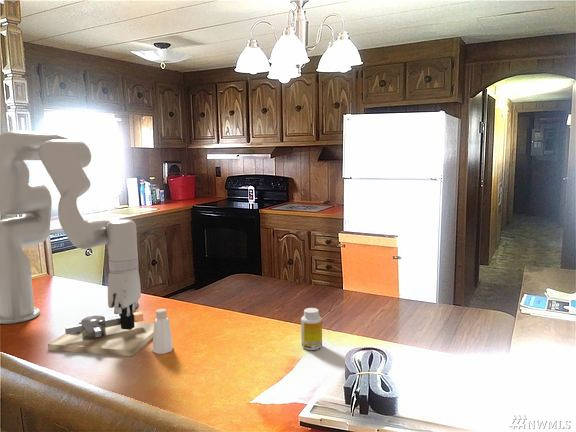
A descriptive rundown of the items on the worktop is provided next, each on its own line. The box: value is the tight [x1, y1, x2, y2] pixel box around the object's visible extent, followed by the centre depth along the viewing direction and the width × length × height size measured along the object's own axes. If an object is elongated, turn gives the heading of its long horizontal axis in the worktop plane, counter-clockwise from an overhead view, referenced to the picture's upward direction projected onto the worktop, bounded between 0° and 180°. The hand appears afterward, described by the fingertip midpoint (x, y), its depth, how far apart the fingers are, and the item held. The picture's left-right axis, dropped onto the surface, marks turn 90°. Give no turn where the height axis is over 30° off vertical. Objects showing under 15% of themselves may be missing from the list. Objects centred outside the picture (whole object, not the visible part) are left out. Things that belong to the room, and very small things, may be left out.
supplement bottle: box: [300, 307, 323, 351], centre depth 120 cm, size 6×6×10 cm
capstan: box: [64, 310, 144, 339], centre depth 125 cm, size 20×14×4 cm
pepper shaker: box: [152, 308, 174, 355], centre depth 118 cm, size 5×5×11 cm
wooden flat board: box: [47, 321, 154, 357], centre depth 125 cm, size 24×18×3 cm
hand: (127, 328), depth 125 cm, fingers closed
